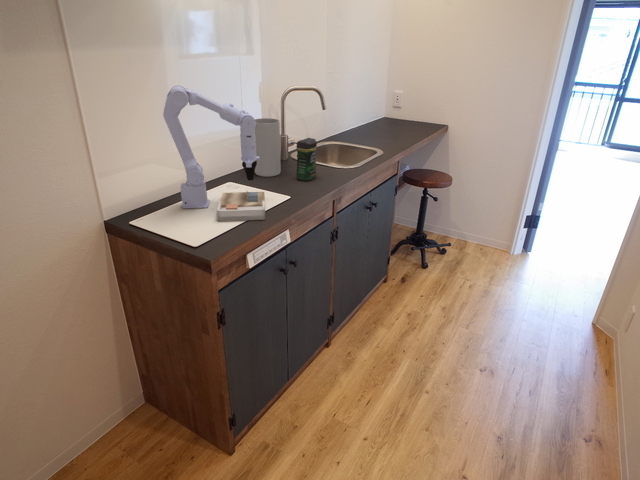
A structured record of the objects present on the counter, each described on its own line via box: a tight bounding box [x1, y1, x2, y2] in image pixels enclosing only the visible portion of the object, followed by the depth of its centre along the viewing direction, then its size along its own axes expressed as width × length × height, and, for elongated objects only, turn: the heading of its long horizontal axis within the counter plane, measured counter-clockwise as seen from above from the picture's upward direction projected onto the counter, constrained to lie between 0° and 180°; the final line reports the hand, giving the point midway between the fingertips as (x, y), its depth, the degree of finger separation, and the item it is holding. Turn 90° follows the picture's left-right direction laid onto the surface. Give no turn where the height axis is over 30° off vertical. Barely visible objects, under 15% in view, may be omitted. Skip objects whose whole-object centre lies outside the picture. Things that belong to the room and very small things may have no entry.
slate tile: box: [247, 191, 259, 202], centre depth 163 cm, size 4×4×2 cm
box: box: [216, 200, 266, 222], centre depth 155 cm, size 17×9×4 cm, turn 97°
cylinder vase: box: [254, 117, 282, 178], centre depth 197 cm, size 12×12×25 cm
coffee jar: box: [295, 137, 318, 182], centre depth 193 cm, size 10×8×19 cm
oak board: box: [219, 191, 266, 207], centre depth 166 cm, size 17×14×2 cm
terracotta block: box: [226, 204, 238, 210], centre depth 154 cm, size 4×4×2 cm
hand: (250, 179), depth 167 cm, fingers closed
